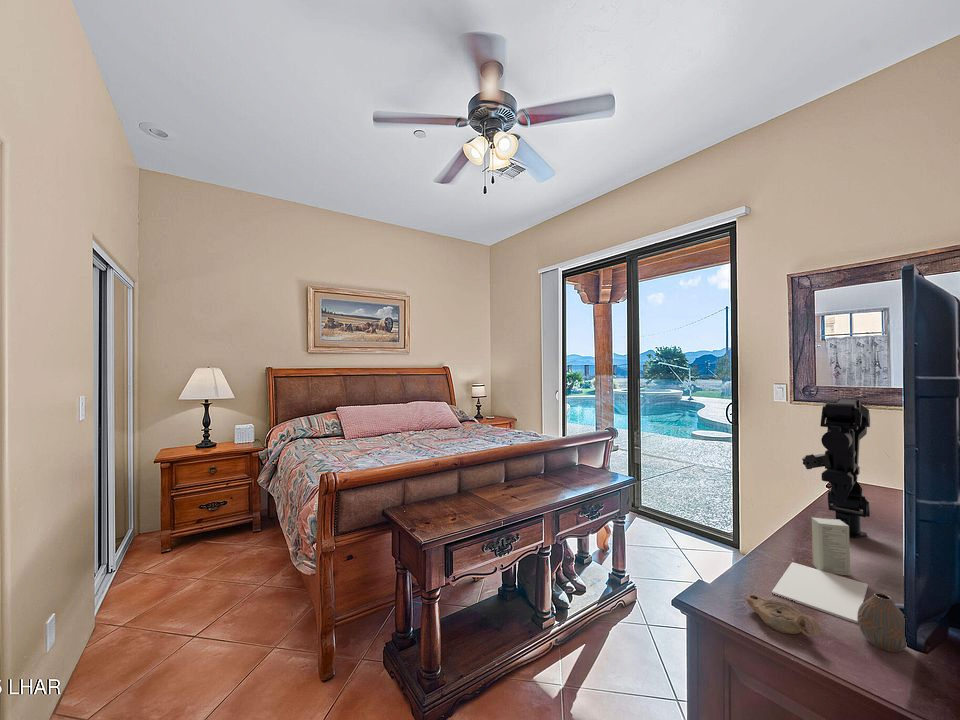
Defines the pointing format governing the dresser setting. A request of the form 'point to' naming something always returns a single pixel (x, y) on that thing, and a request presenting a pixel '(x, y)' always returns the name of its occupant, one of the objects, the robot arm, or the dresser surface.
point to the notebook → (822, 591)
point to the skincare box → (831, 546)
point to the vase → (882, 623)
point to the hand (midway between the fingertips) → (841, 502)
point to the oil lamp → (782, 616)
